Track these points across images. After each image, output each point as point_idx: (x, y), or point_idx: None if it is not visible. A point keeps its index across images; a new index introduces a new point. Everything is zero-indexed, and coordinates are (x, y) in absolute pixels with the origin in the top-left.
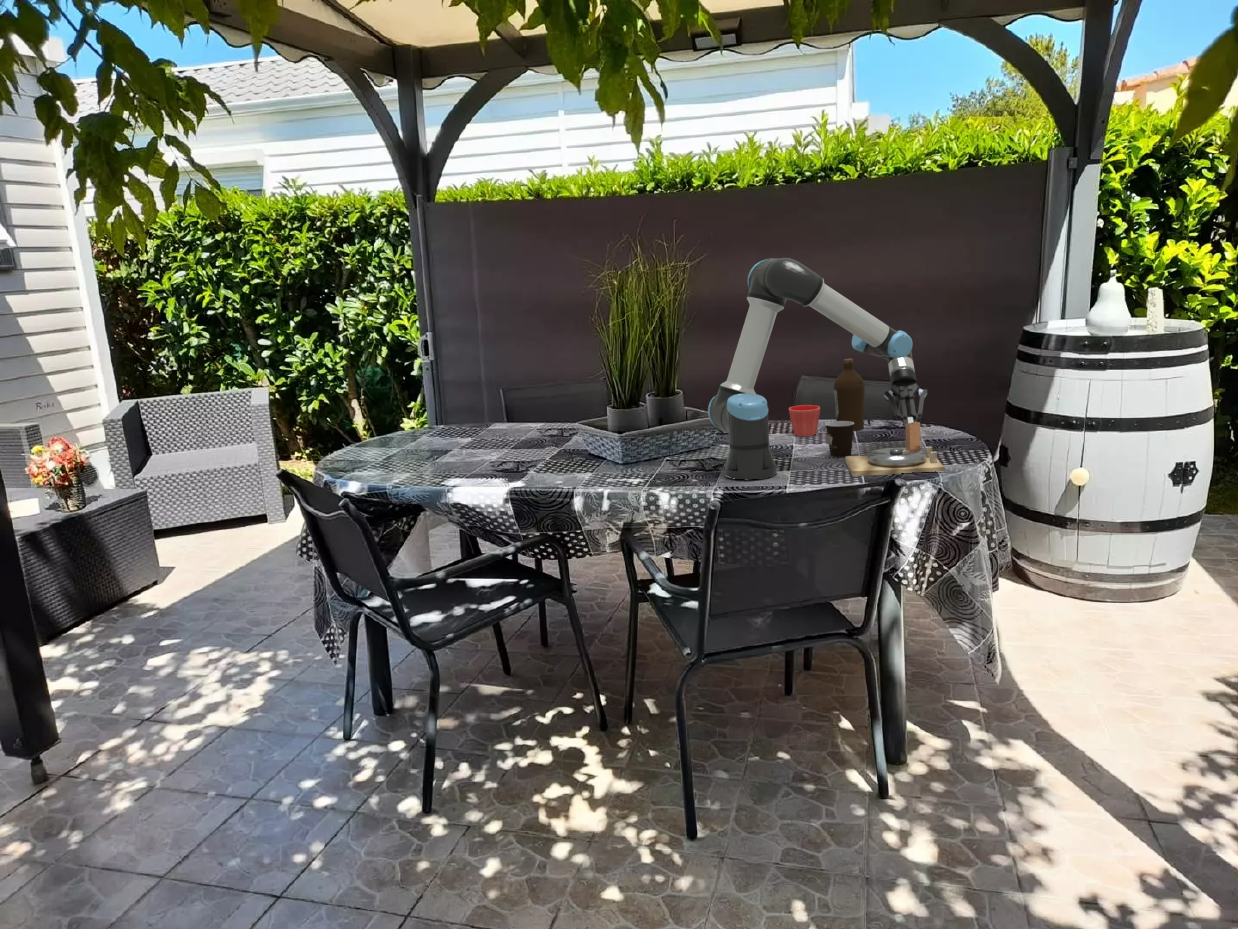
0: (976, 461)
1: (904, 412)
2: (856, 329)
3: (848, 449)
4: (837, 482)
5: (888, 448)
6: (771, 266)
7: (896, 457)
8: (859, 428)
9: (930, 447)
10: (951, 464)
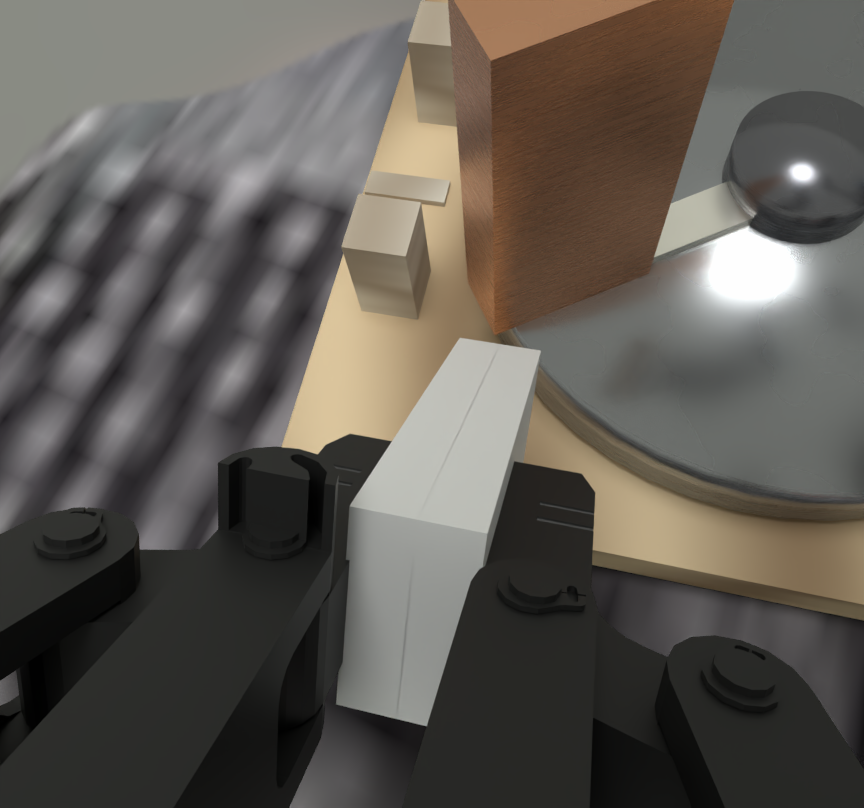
0: (39, 214)
1: (528, 684)
2: None
3: None
4: None
5: (837, 472)
6: None
7: (832, 43)
8: None
9: (374, 204)
10: (269, 189)
